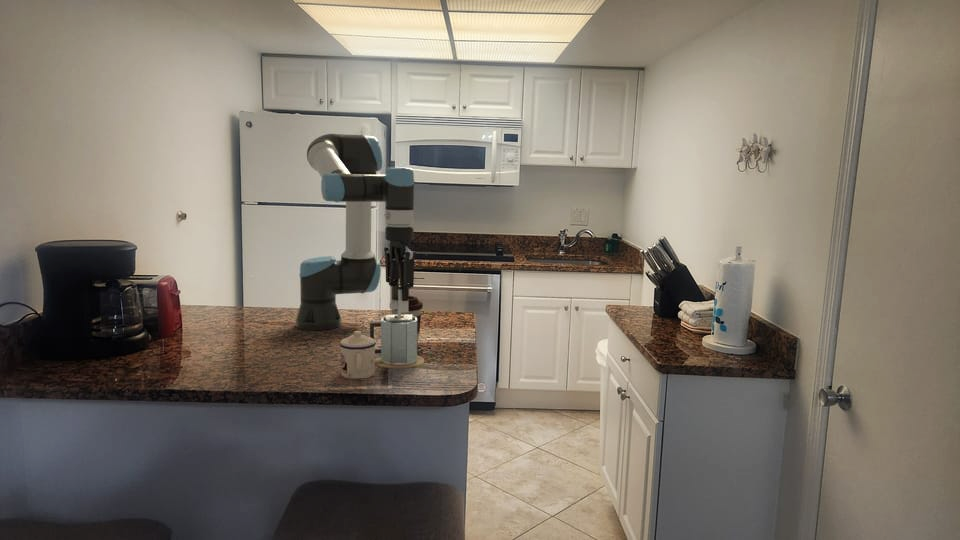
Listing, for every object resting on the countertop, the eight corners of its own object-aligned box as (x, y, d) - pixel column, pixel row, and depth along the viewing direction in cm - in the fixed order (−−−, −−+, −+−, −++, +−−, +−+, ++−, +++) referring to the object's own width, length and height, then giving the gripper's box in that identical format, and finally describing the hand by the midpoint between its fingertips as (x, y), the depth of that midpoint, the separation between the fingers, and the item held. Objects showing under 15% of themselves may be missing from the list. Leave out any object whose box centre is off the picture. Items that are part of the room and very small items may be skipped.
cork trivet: (365, 360, 170) (365, 358, 170) (408, 352, 178) (408, 350, 178) (388, 373, 159) (388, 371, 158) (433, 365, 167) (433, 362, 167)
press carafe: (371, 355, 172) (371, 313, 170) (416, 355, 174) (417, 312, 172) (369, 366, 162) (369, 321, 160) (417, 365, 164) (417, 321, 162)
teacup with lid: (340, 370, 160) (339, 327, 159) (374, 368, 162) (374, 326, 161) (340, 385, 149) (339, 339, 147) (377, 383, 151) (377, 338, 149)
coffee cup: (416, 351, 180) (417, 301, 177) (385, 348, 181) (384, 299, 179) (426, 342, 189) (426, 295, 187) (396, 340, 191) (396, 293, 189)
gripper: (372, 223, 167) (373, 306, 171) (402, 228, 154) (402, 318, 157) (396, 223, 172) (396, 303, 175) (427, 227, 158) (426, 315, 161)
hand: (399, 310), depth 166 cm, fingers closed on plunger, 4 cm apart
